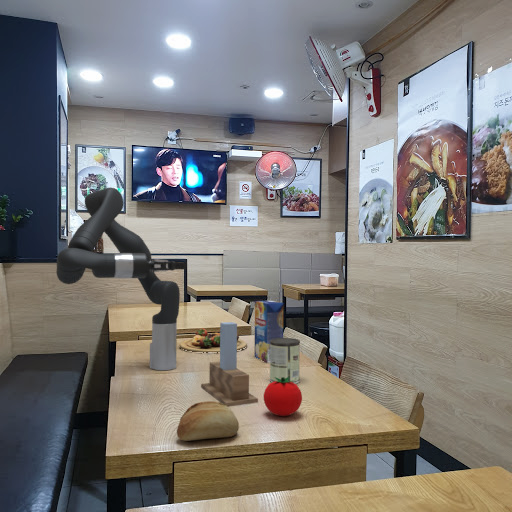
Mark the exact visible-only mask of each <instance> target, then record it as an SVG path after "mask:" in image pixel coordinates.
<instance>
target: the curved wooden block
mask: <svg viewBox="0 0 512 512" xmlns="http://www.w3.org/2000/svg"><path fill="white" fill-rule="evenodd" d="M208 374H209V376H208V377H209V378H208V379H209V382H206V383H200V387H201V388H202V389H203V390H204V391H205V392H207V393H208V394H210V395H211V396H212V397H213V398H215V399H216V400H218V402H219V403H222V404H225V405H226V406H227V407H232V406H239V405H247V404H254V403H258V402H259V398H258V397H256V396H254V395H253V394H251V393H250V375H249V374H248V373H247V372H244V371H243V370H241V369H239V368H237V369H234V370H223V369H221V368H220V361H212V362H209V373H208Z"/></svg>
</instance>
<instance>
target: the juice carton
mask: <svg viewBox="0 0 512 512" xmlns="http://www.w3.org/2000/svg"><path fill="white" fill-rule="evenodd" d="M275 338H284V302H280V301H275V300H255V301H254V358H255V357H256V358H255V359H257V358H258V359H257V360H259V359H260V360H259V361H261V360H262V361H261V362H263V361H264V362H263V363H265V364H270V340H271V339H275Z"/></svg>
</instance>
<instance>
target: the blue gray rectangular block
mask: <svg viewBox="0 0 512 512" xmlns="http://www.w3.org/2000/svg"><path fill="white" fill-rule="evenodd" d="M219 328H220V329H219V330H220V331H219V334H220V354H219V362H220V368H221V369H223V370H234V369H238V368H237V366H238V364H237V363H238V362H237V360H238V357H237V355H238V352H237V333H238V323H236V322H234V321H231V322H230V321H228V322H225V321H224V322H220V327H219Z"/></svg>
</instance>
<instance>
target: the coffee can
mask: <svg viewBox="0 0 512 512" xmlns="http://www.w3.org/2000/svg"><path fill="white" fill-rule="evenodd" d="M300 343H301V340H300V339H298V338H291V337H283V338H275V339H271V340H270V363H269V367H270V369H269V371H270V372H269V375H270V376H269V381H271V382H274V381H278V380H276V379H275V377H276V378H278V379H281V378H282V377H284V378H287V377H289V379H288V381H292V382H293V383H294V384H296V385H297V384H299V383H300ZM271 382H270V383H271Z"/></svg>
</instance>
